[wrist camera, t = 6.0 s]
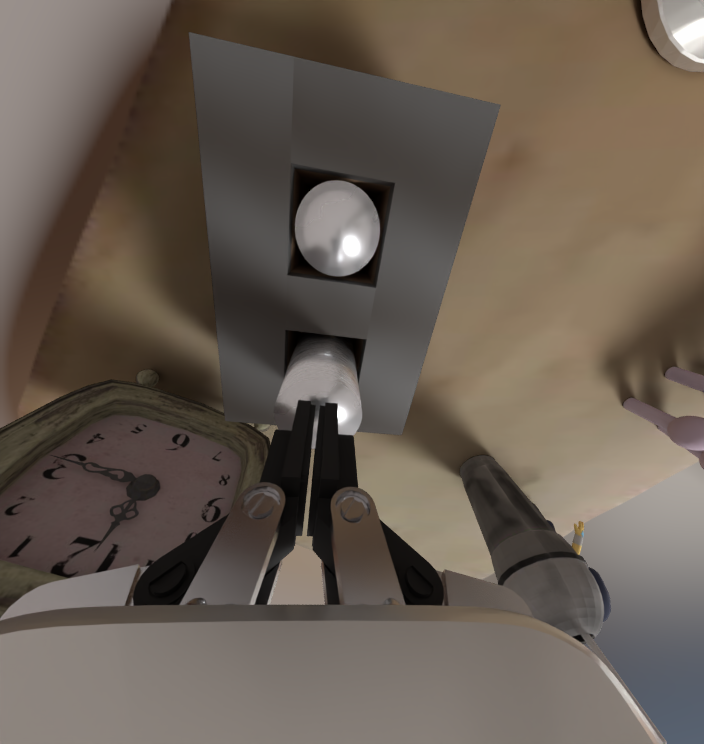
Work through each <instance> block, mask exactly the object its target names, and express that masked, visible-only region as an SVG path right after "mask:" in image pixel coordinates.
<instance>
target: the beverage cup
mask: <svg viewBox="0 0 704 744" xmlns="http://www.w3.org/2000/svg"><path fill="white" fill-rule="evenodd" d="M460 476H461V478H462V481H463V484H464V488H465V490H466V493H467V495H468V498H469V501H470V503H471V506H472V508H473V511H474V513H475V516H476V519H477V521H478V524H479V526H480V529H481V531H482V534H483V537H484V539H485V542H486V544H487V547H488V549H489V552H490V555H491V559H492V563H493V567H494V571H495V574H496V577H497V580H498V585H501V586H505V587H507V588H509V589H511V590H513V591H514V592H515V593H517V594H518V595H519V596H520V597H521V598H522V599H523V600H524V602H525V603H526V604H527V605H528V607H529V608H530V611H531V613H532V615H533V617H534V618H535V619H538V620H540V621H543V622H545V623H547V624H549V625H551V626H553V627H555V628H557V629H559V630H561V631H563V632H565V633H566V634H568V635H569V636H571V637H573V638H574V639H576V640H577V641H579V642H580V643H582V644H585V643H587V644H588V646H589V647H590V649H591V650H592V652H593V653H594V654H595V655H596V656H597V657H598V658H599V659H600V660H601V661H602V662H603V663H604V664H605V665H606V666H607V667H608V668H609V670H610V671H611V672H612V673H613V674H614V676H615V677H616V678H617V679H618V680H619V682H620V683H621V684H622V686H623V687H624V688H625V690H626V691H627V692H628V693H629V695H630V696H631V698H632V699H633V701H634V702H635V703H636V705H637V706H638V708H639V709H640V710H641V712H642V713H643V715H644V716H645V717H646V719H647V720H648V722H649V723H650V724H651V726H652V727H653V729H654V730H655V732H656V733H657V735H658V736H659V738H660V739H661V741H662V742H663V744H666V743H667V742H666V740H665V739H664V738H663V736H662V735H661V733H660V732H659V731H658V729H657V728H656V727H655V725H654V724H653V722H652V721H651V720H650V718H649V717H648V715H647V714H646V712H645V711H644V710H643V708H642V707H641V706H640V704H639V703H638V701H637V700H636V699H635V697H634V696H633V694H632V693H631V692H630V690H629V689H628V687H627V686H626V685H625V683H624V682H623V680H622V679H621V678H620V676H619V675H618V673H617V672H616V671H615V669H614V668H613V667H612V665H611V664H610V662H609V661H608V660H607V658H606V657H605V655H604V654H603V653H602V651H601V650H600V648H599V647H598V646H597V644H596V643H595V641H594V640H593V639H594V638H595V637H596V636H597V634H598V633H599V631H600V629H601V627H602V623H603V618H604V604H603V599H602V595H601V592H600V589H599V586H598V584H597V582H596V580H595V578H594V576H593V575H592V573H591V572H590V570H589V567H588V565H587V563H586V561H585V560H584V558H583V557H582V556H580V555H578V554H577V553H576V551H575V550H574V549H573V548H572V546H571V545H570V544H568V543H567V542H566V540H565V539H564V538H563V537H562V536H561V535H559V534H557V533H556V532H555V530H554V529H553V528H552V527H551V526H550V524H549V523H548V522H547V521H546V520H545V518H544V517H543V516H542V515H541V514H540V512H539V511H538V510H537V509H536V508H535V506H534V505H533V504H532V503H531V502H530V500H529V499H528V498H527V497H526V496H525V494H524V493H523V492H522V491H521V490H520V488H519V487H518V486H517V485H516V484H515V482H514V481H513V480H512V479H511V478H510V476H509V475H508V474H507V473H506V472H505V470H504V469H503V468H502V467H501V466H500V465H499V464H498V463H497V462H496V461H495V459H494V458H492V457H490V456H486V455H479V456H475V457H472V458H470V459H468V460H467V461H466V462H465V463H463V465H462V466H461V468H460Z"/></svg>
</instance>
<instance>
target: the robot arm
mask: <svg viewBox="0 0 704 744" xmlns="http://www.w3.org/2000/svg"><path fill="white" fill-rule="evenodd" d="M641 5H642V14H643V19H644V22H645V25H646V28H647V32H648V35H649V38H650V40H651V41H652V43H653V44H654V46H655V48H656V49H657V51H658V52H659V54H660V55H661V56H662V57H663V58H665V59H666V60H667V61H668V62H669V63H671V64H672V65H673V66H676V67H678V68H681V69H684V70H687V71H691V72H704V0H641ZM315 408H316V405H312V404H311V401H305V400H298V403H297V408H296V413H295V417H294V422H293V426H292V431H290V430H275V432H274V436H273V439H272V442H271V445H270V449H269V452H268V455H267V459H266V462H265V465H264V469H263V472H262V475H261V479H260V482H259V483H256V484H254V485H251V486H249V487H248V488H246V489H245V490H244V491H243V492H242V493H241V494H240V496H239V497H238V499H237V500H236V502H235V504H234V506H233V508H232V510H231V511H230V513H229V514H227V515H226V516H224V517H223V518H221V519H220V520H218V521H216V522H215V523H213V524H212V525H210V526H209V527H207V528H206V529H204V530H202V531H201V532H199V533H198V534H196V535H195V536H193V537H192V538H190V539H188V540H187V541H185V542H184V543H182V544H181V545H179V546H177V547H176V548H174V549H173V550H171V551H170V552H168V553H167V554H165V555H163V556H162V557H160V558H159V559H158V560H156V561H155V562H154V563H153V564H151V565H150V566H146V567H141V568H140V566H139V564H137V565H132V566H128V567H123V568H118V569H113V570H108V571H103V572H98V573H93V574H89V575H84V576H79V577H74V578H69V579H64V580H59V581H55V582H51V583H48V584H45V585H42V586H39V587H37V588H35V589H34V590H32V591H30V592H28V593H27V594H25V595H23V596H22V597H21V598H20V599H19V600H17V601H16V602H15V603H14V604H13V605H11V606H10V607H9V608H8V609H7V611H6V612H5V613H4V614H3V615H2V617H1V618H0V744H663V742H662V741H661V739H660V738H659V736H658V735H657V733H656V732H655V730H654V729H653V727H652V726H651V724H650V723H649V722H648V720H647V719H646V717H645V716H644V715H643V713H642V712H641V710H640V709H639V708H638V706H637V705H636V703H635V702H634V701H633V699H632V698H631V696H630V695H629V693H628V692H627V691H626V690H625V688H624V687H623V686H622V684H621V683H620V682H619V680H618V679H617V678H616V677H615V676H614V674H613V673H612V672H611V671H610V670H609V668H608V667H607V666H606V665H605V664H604V663H603V662H602V661H601V660H600V659H599V658H598V657H597V656H596V655H595V654H594V653H593V652H592V651H590V650H589V649H588V648H587V647H586V646H584V645H583V644H582V643H580V642H579V641H577V640H576V639H574V638H573V637H571V636H569V635H568V634H566V633H565V632H563V631H561V630H559V629H557V628H555V627H553V626H551V625H549V624H547V623H545V622H543V621H540V620H538V619H535V618H534V617H533V615H532V613H531V611H530V608H529V607H528V605H527V604H526V603H525V602H524V600H523V599H522V598H521V597H520V596H519V595H518V594H517V593H515V592H514V591H513V590H511V589H509V588H507V587H505V586H501V585H498V584H494V583H491V582H487V581H484V580H480V579H477V578H473V577H470V576H466V575H463V574H459V573H456V572H452V571H449V570H444V571H443V572H440V571H436V570H435V569H434V568H433V567H432V566H431V564H430V563H429V562H427V561H426V560H425V559H424V558H423V557H422V556H421V555H419V554H418V553H417V552H416V551H415V550H414V549H413V548H412V547H410V546H409V545H408V544H407V543H406V542H405V541H404V540H402V539H401V538H400V537H399V536H398V535H397V534H396V533H395V532H393V531H392V530H391V529H390V528H389V527H388V526H387V525H385V524H384V523H383V522H382V521H381V520H380V519H379V516H378V513H377V510H376V506H375V503H374V501H373V499H372V498H371V496H370V495H369V494H368V493H367V492H365V491H364V490H362V489H360V488H358V480H357V469H356V458H355V447H354V437H353V435H343V434H338V403H328V402H325V406H323V405H320V408H319V418H318V427H317V436H316V445H315V454H314V465H313V476H312V487H311V497H310V508H309V519H308V530H307V536H313V540H312V546H313V551H314V552H315V553H316V554H317V555H318V557H319V558H320V559H321V569H322V580H323V591H324V601H325V605H270V602H271V599H272V595H273V592H274V589H275V585H276V582H277V579H278V575H279V572H280V569H281V565H282V559H283V558H284V557H286V556H287V555H288V554H289V553H290V552H291V551H292V550H293V549H294V546H295V540H296V536H302V531H303V522H304V513H305V504H306V494H307V485H308V476H309V467H310V457H311V448H312V438H313V428H314V418H315Z"/></svg>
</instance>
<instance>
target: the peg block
mask: <svg viewBox="0 0 704 744" xmlns="http://www.w3.org/2000/svg"><path fill="white" fill-rule="evenodd" d="M189 39H190V50H191V61H192V71H193V82H194V93H195V104H196V114H197V125H198V136H199V147H200V157H201V168H202V179H203V190H204V200H205V211H206V222H207V233H208V243H209V254H210V265H211V275H212V286H213V297H214V308H215V318H216V329H217V340H218V351H219V361H220V372H221V383H222V394H223V404H224V415H225V421H230V422H243V423H255V424H268V425H276V422H275V419H274V407H275V403H276V400H277V397H278V395H279V392H280V389H281V386H282V383H283V380H284V377H285V375H286V372H287V369H288V366H289V363H290V360H291V357H292V355H293V352H294V349H295V346H296V343H297V340H298V338H299V336H300V332H309V333H317V334H325V335H334V336H342V337H350V338H352V344H353V350H354V358H355V365H356V372H357V379H358V386H359V393H360V400H361V408H362V420H361V424H360V426H359V428H358V430H357V431H356V432H368V433H381V434H393V435H402V433H403V429H404V426H405V423H406V419H407V416H408V413H409V409H410V406H411V403H412V399H413V396H414V393H415V389H416V386H417V383H418V379H419V376H420V373H421V369H422V366H423V363H424V359H425V356H426V353H427V349H428V346H429V343H430V339H431V336H432V333H433V329H434V326H435V323H436V319H437V316H438V313H439V309H440V306H441V303H442V299H443V296H444V292H445V289H446V286H447V282H448V279H449V276H450V272H451V269H452V266H453V262H454V259H455V256H456V252H457V249H458V246H459V242H460V239H461V236H462V232H463V229H464V226H465V222H466V219H467V216H468V212H469V209H470V206H471V202H472V199H473V196H474V192H475V189H476V186H477V182H478V179H479V176H480V172H481V169H482V166H483V162H484V159H485V156H486V152H487V149H488V146H489V142H490V139H491V136H492V132H493V129H494V126H495V122H496V119H497V116H498V112H499V109H500V105H499V104H495V103H490V102H486V101H482V100H478V99H473V98H469V97H465V96H460V95H456V94H452V93H448V92H443V91H439V90H435V89H430V88H426V87H422V86H418V85H413V84H409V83H405V82H401V81H396V80H392V79H388V78H383V77H379V76H375V75H371V74H366V73H362V72H358V71H353V70H349V69H345V68H341V67H336V66H332V65H328V64H323V63H319V62H315V61H311V60H306V59H302V58H298V57H293V56H289V55H285V54H281V53H276V52H272V51H268V50H263V49H259V48H255V47H251V46H246V45H242V44H238V43H234V42H229V41H225V40H221V39H216V38H212V37H208V36H204V35H199V34H195V33H191V32H189ZM334 180H339V181H345V182H349V183H351V184H354V185H356V186H357V187H359V188H360V189H361V190H363V191H364V192H365V193H366V194H367V195H368V197H369V198H370V199H371V200H373V204H374V206H375V208H376V211H377V214H378V218H379V223H380V236H379V242H378V245H377V248H376V251H375V253H374V255H373V256H372V258H371V259H370V261H369V262H368V263H367V264H366V265H365V266H364V267H363V268H362V269H360V270H359V271H357V272H355V273H353V274H350V275H346V276H331V275H327V274H324V273H322V272H320V271H318V270H316V269H315V268H314V267H313V266H311V265H310V264H309V263H308V262H307V260H304V256H303V255H302V253H301V251H300V249H299V246H298V244H297V240H296V235H295V219H296V214H297V211H298V208H299V206H300V204H301V202H302V200H303V199H304V197H305V196H306V195H307V194H308V188H310V189H313V188H314V187H316V186H317V185H319V184H321V183H324V182H327V181H334Z"/></svg>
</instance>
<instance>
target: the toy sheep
mask: <svg viewBox="0 0 704 744" xmlns="http://www.w3.org/2000/svg"><path fill="white" fill-rule="evenodd" d="M665 377H666V378H667V379H669V380H672V381H675V382H677V383H680V384H683V385H686V386H689V387H691V388H694V389H697V390H700V391H702V392H704V376H703V375H700V374H697V373H694V372H690V371H687V370H684V369H681V368H678V367H671V368H669V369H668V370H667V371H666V373H665ZM623 406H624V408H625V409H627V410H629V411H631V412H633V413H635V414H637V415H639V416H640V417H642V418H644V419H646V420H648V421H650V422H652V423H654V424H656V425H658V426H659V427H658V429H659V430H660V431H662V432H663V433H665V434H666V435H667V436H669V437H670V439H671V440H672V441H673V442H674V443H676V444H677V445H679V446H681V447H683V448H685V449H687V450H688V451H689V452H691V453H692V454H693V455H695V456H696V457H698V458H699V462H700V465H701V467H702V468H703V469H704V418H701V417H697V416H683V417H679V418H676V417H673V416H671V415H669V414H667V413H665V412H663V411H661V410H658V409H656V408H654V407H652V406H650V405H648V404H646V403H643V402H641V401H639V400H637V399H635V398H629V399H627V400H626V401H625V402H624V404H623Z"/></svg>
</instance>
